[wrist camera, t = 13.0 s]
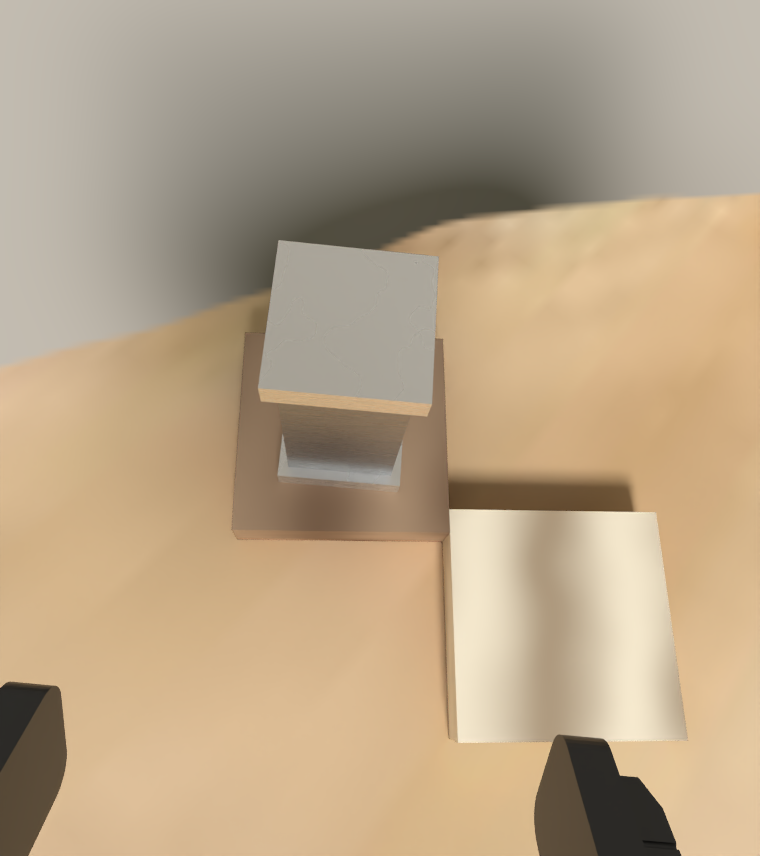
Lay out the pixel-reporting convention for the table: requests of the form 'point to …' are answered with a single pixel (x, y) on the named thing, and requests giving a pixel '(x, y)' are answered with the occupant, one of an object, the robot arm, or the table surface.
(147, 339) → the table surface
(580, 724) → the stand
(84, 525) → the table surface
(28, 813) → the robot arm
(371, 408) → the block
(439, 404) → the stand
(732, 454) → the table surface
